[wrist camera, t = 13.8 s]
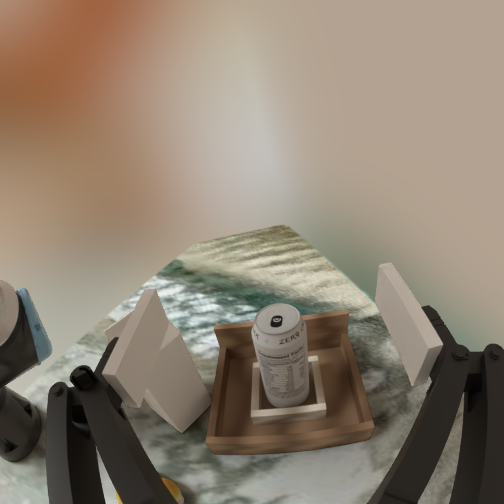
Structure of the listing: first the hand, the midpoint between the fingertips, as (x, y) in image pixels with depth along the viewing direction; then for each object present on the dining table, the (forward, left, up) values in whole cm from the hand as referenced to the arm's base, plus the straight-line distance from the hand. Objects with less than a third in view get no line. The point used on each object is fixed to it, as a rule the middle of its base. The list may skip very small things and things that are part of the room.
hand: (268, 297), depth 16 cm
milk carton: (-16, +9, -26) cm, 32 cm away
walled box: (0, +10, -26) cm, 28 cm away
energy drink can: (0, +10, -25) cm, 27 cm away
